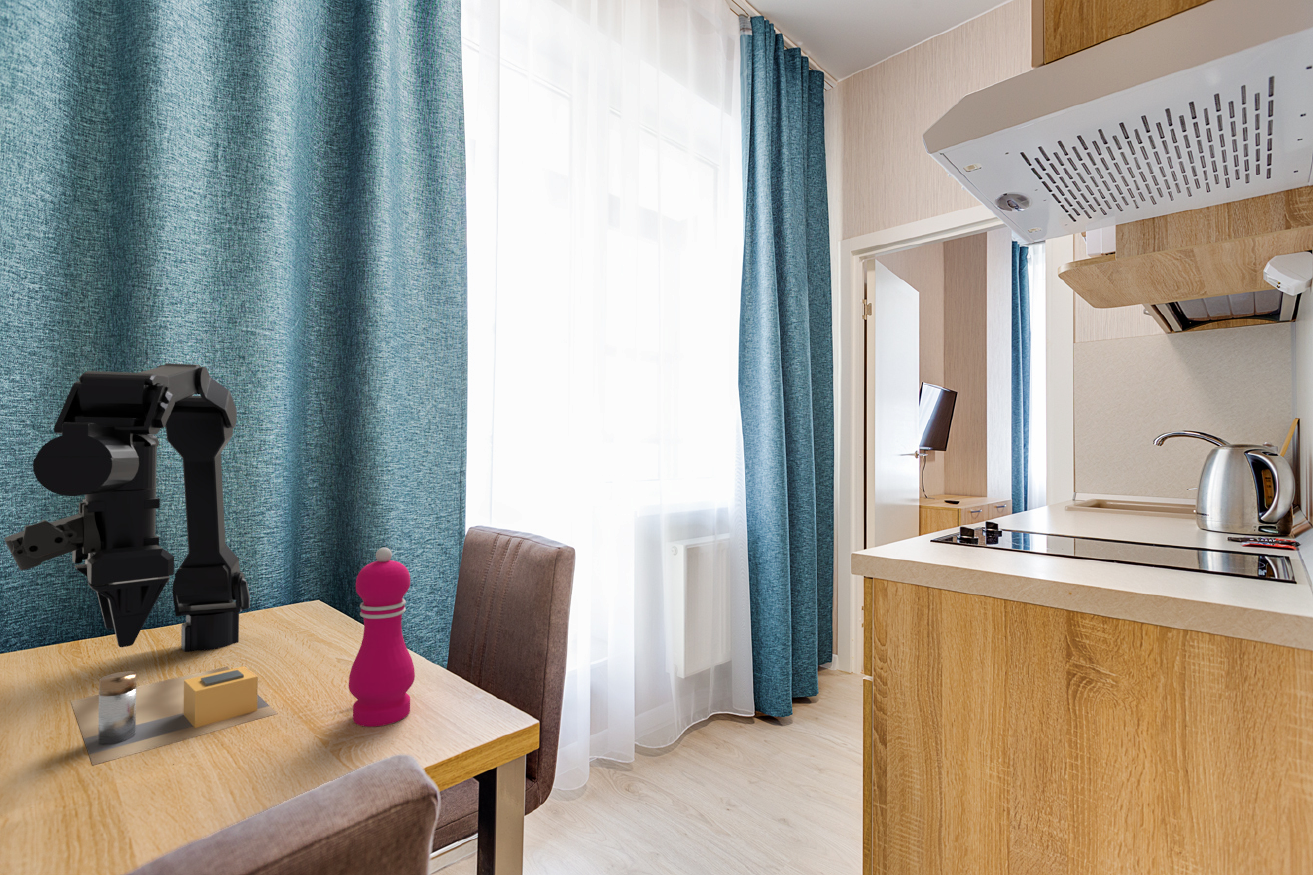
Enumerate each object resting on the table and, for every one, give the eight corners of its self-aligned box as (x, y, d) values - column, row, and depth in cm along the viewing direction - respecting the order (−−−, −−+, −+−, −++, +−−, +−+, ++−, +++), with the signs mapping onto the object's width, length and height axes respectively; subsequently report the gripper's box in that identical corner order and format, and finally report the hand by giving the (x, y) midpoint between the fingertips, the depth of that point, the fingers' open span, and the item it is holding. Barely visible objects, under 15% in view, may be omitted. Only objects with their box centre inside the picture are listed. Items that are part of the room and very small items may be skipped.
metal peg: (133, 728, 68) (134, 669, 68) (137, 737, 66) (138, 676, 66) (96, 738, 66) (97, 676, 66) (100, 747, 64) (101, 684, 64)
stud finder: (243, 698, 76) (244, 663, 76) (257, 710, 73) (257, 673, 73) (183, 714, 71) (183, 677, 71) (194, 727, 68) (195, 688, 68)
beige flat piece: (227, 673, 87) (227, 666, 87) (277, 721, 72) (278, 713, 72) (70, 709, 75) (70, 700, 75) (92, 775, 60) (92, 765, 60)
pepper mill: (427, 707, 76) (429, 544, 76) (383, 733, 69) (385, 554, 69) (380, 699, 78) (382, 541, 79) (333, 723, 72) (335, 550, 72)
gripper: (9, 488, 66) (6, 635, 66) (16, 499, 54) (12, 680, 53) (143, 484, 75) (141, 614, 74) (176, 492, 62) (173, 649, 62)
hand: (118, 636), depth 66 cm, fingers open, 9 cm apart
